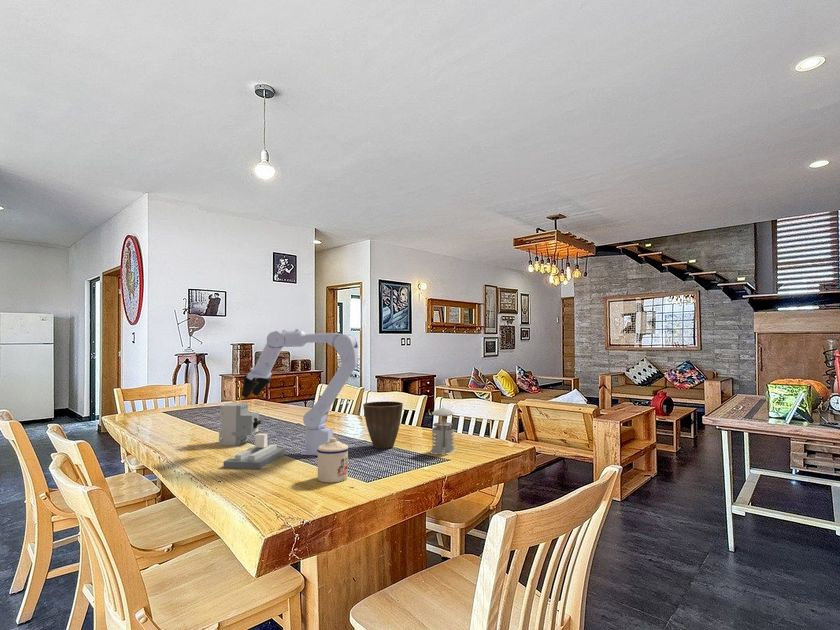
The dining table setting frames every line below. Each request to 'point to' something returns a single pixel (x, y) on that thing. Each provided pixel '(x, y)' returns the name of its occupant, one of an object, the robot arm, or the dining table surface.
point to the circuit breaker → (237, 423)
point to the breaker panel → (257, 462)
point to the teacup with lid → (332, 461)
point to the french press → (443, 433)
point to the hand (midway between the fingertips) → (249, 395)
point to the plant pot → (383, 422)
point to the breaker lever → (260, 441)
